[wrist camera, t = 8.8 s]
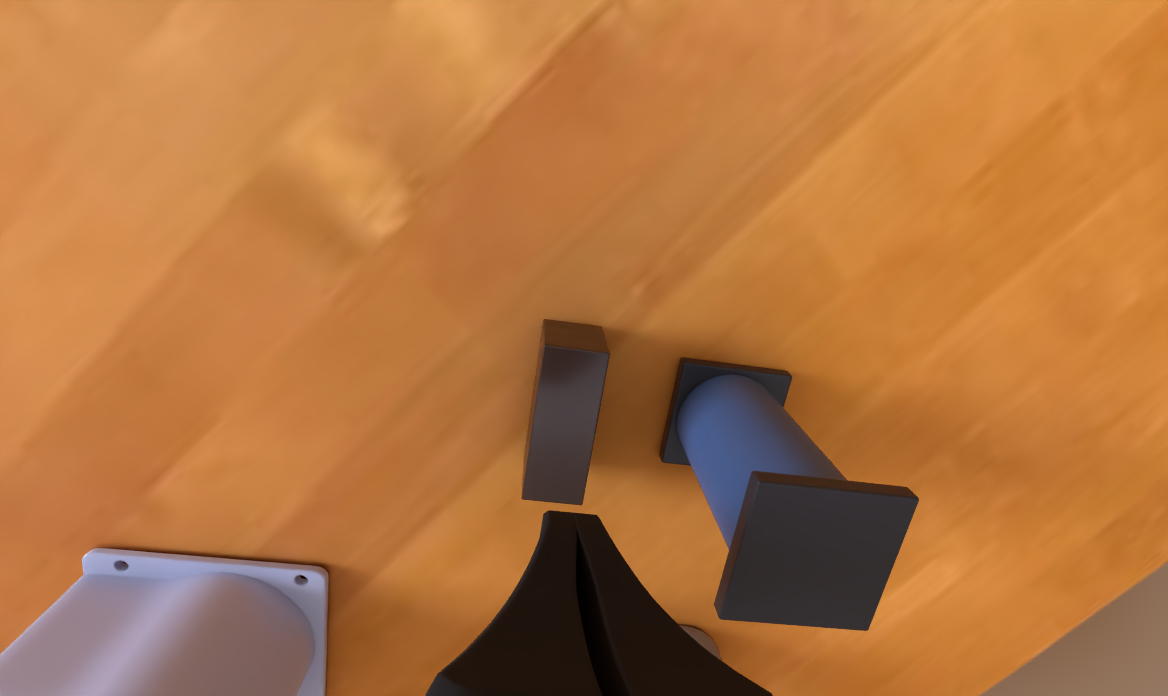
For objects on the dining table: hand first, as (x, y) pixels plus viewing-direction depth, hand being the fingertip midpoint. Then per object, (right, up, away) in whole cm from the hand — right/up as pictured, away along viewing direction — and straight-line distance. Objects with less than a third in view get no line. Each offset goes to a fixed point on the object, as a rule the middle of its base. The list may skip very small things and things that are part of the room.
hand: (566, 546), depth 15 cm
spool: (+6, +1, +5) cm, 8 cm away
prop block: (0, +3, +9) cm, 9 cm away
